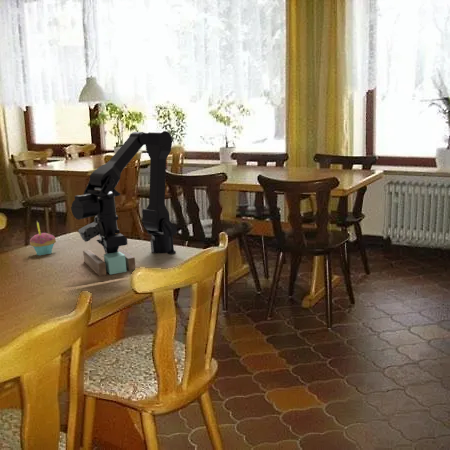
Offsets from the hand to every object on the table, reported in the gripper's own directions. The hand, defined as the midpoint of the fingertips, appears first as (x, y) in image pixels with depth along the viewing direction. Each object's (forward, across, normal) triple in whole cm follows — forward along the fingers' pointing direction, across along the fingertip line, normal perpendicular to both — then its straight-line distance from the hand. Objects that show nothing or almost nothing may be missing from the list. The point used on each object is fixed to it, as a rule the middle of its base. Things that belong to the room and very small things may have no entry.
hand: (110, 263), depth 197 cm
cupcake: (+2, -32, -14) cm, 35 cm away
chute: (+2, -2, 0) cm, 3 cm away
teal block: (+1, +5, 0) cm, 5 cm away
